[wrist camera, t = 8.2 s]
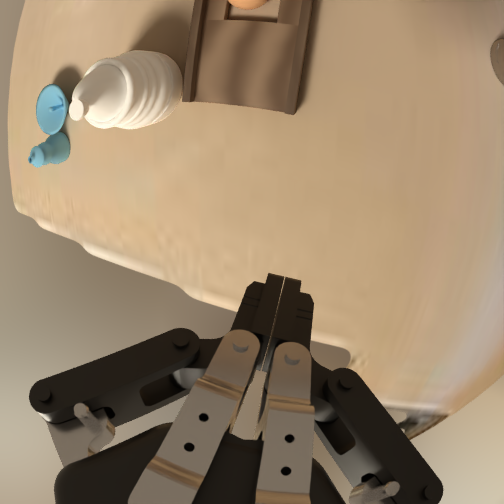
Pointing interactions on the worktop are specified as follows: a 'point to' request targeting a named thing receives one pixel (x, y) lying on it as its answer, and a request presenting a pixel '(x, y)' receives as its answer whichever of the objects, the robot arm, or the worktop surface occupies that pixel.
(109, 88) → the honey pot
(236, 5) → the ball
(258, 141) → the worktop surface
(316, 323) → the worktop surface
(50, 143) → the light blue flared piece
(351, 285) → the worktop surface
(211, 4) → the track
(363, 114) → the worktop surface
